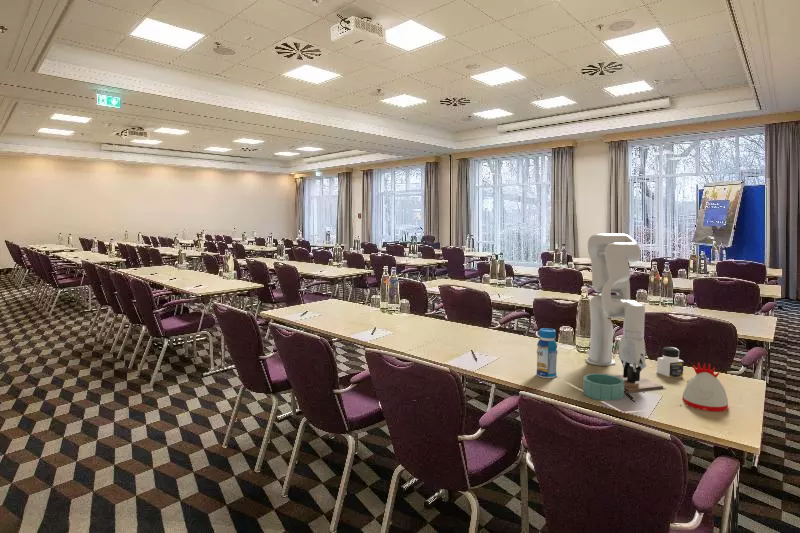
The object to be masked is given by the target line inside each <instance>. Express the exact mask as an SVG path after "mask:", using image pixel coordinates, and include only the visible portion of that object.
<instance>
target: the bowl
mask: <svg viewBox="0 0 800 533" xmlns="http://www.w3.org/2000/svg"><path fill="white" fill-rule="evenodd" d="M582 378H583V379H582V383H583V384H582V391H583V394H584V396H586V397H587V398H590V399H593V400H596V401H601V402H604V401H618V400H622V399H623V398H624V397H625V392H624V381H623V379H621V378H619V377H616V375H612V374H607V373H596V372H595V373H588V374H585V375H583V377H582Z"/></svg>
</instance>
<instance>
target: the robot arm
mask: <svg viewBox="0 0 800 533" xmlns="http://www.w3.org/2000/svg"><path fill="white" fill-rule="evenodd" d="M587 252H588V256H589V258H590V263H591V279H592V280H591V283H592V284H591V285H592V289H593V290H594V291H595V292H596V293H597V292H598V293H601V294H600V295H594V296H593V297H591V298H590V300H589V304H588V305H589V306H588V307H589V311H590V312H589V313H590V340H589V350H587V351H586V354H587V355H588V357H586V358H585V361H586V363H588V364H590V365H594V366H597V367H598V366H599V367H611V366H615V365H616V360H614V359H613V343H614V342H613V341H614V340H613V339H614V338H613V337H614V326H613V323H612V321H611V320H610V319H623V326H622V336H621V337H620V340H619V345H618V347H619V348H618V359H619V360H620V362H621V364H622V368H623V372H622V373H623V374H622V375H623V377H624V378H627V372H628V366H631V365H632V366H633V370H634V371H632V381H633V382H634V381H639V380H640V377H641V372H642V370H643V369H645V368H647V364H646V342H645V338H644V337H645V317H646V316H645V315H646V307H645V305H644V304H641V303H639V302H638V301H636V300H634V299H631V284H630V279H631V277H632V276H631V270H630V265H629V263H634V262H635V263H637V262H638V261H639V260H640V258H641V256H642V251H641V247H640V245H639V244H638V242H636V241H635V240H634V238H632V237H631V236H630V235H628V234H627V233H626V234H625V233H596V234H592V235H591V236H590V237H589V238H588V240H587ZM611 293H615V295H611Z"/></svg>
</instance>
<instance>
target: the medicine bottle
mask: <svg viewBox="0 0 800 533" xmlns="http://www.w3.org/2000/svg"><path fill="white" fill-rule="evenodd" d="M656 359H657V361H656V362H657V365H656V373H657V374H660V375H662V376H665V377H667V378H673V379H677V378H683V376H684V360H682V359H680V350H679V349H678V348H677V347H673V346H665V347H663V348H662V357H657V358H656Z"/></svg>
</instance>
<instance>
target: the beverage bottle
mask: <svg viewBox="0 0 800 533" xmlns="http://www.w3.org/2000/svg"><path fill="white" fill-rule="evenodd" d="M538 332H539V333H538V336H539V340H538V341H537V344H536V347H537V348H536V375H537V376H538V377H539V378H543V379H554V378H556V377H557V359H558V358H557V357H558V349H557V348H558V342H556V340H555V339H556V337H557V331H556V329H553V328H547V327H546V328H545V327H543V328H540V329H539V331H538Z"/></svg>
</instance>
